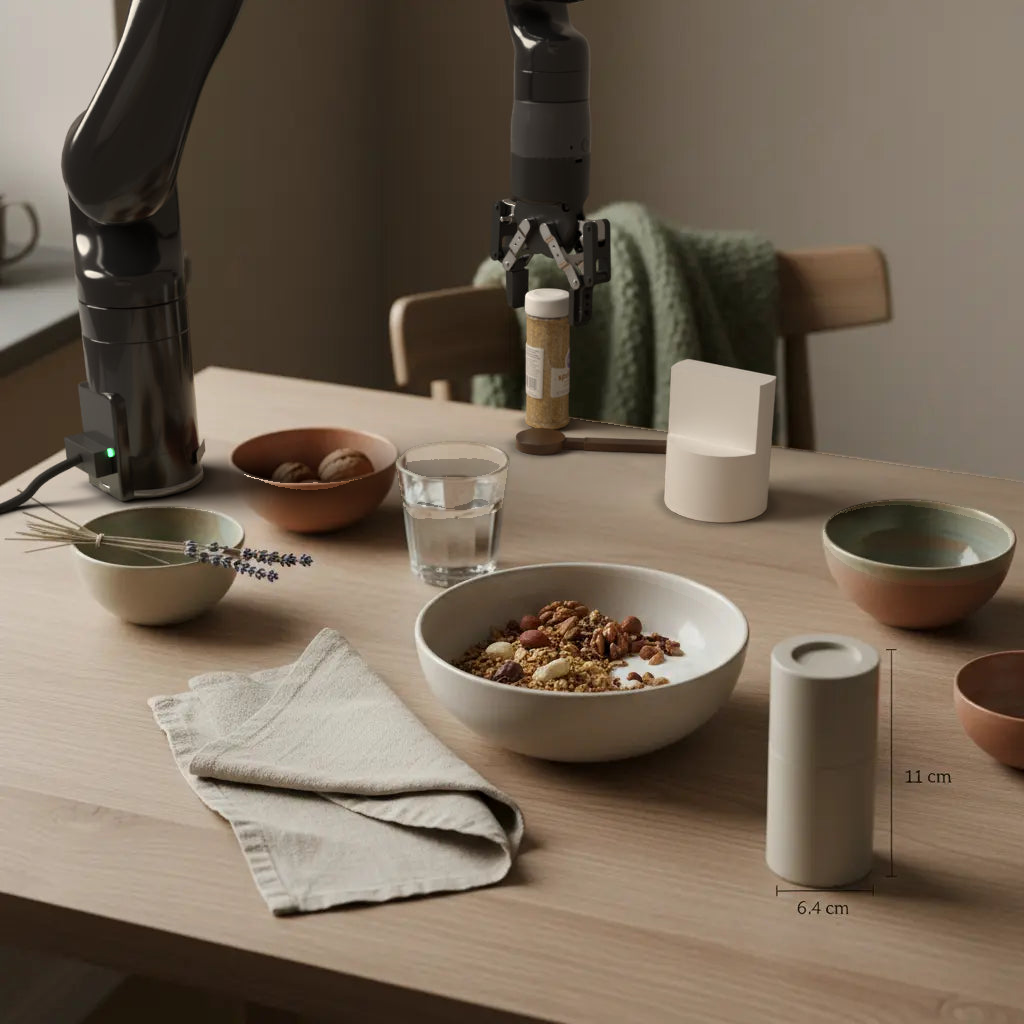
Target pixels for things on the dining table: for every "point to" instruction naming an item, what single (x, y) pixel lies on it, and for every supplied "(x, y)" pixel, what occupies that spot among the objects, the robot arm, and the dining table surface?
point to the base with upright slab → (718, 442)
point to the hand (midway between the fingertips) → (548, 315)
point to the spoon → (581, 443)
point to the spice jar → (547, 358)
